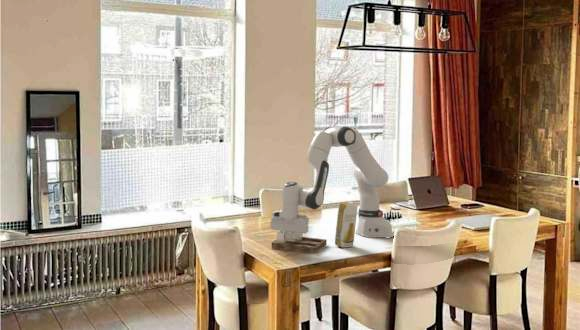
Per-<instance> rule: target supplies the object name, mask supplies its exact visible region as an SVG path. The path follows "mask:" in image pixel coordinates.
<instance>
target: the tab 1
mask: <svg viewBox="0 0 580 330" xmlns="http://www.w3.org/2000/svg"><path fill="white" fill-rule="evenodd" d="M276 240H277V242H282V243H286V236H285V234H284V231H279V230H278V231H277V232H276Z"/></svg>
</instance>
